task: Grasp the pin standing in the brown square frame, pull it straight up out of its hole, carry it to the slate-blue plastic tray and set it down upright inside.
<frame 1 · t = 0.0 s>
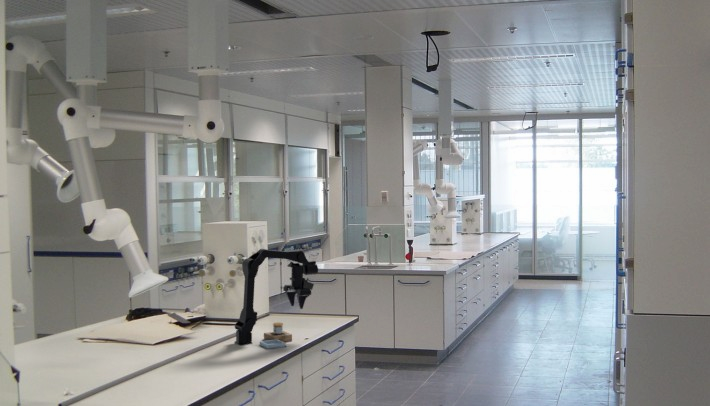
hand: (296, 307, 360), 14 cm above the counter, fingers open, 9 cm apart
pin: (277, 331, 352), in the brown square frame
tray: (272, 346, 339), on the counter
brown square frame: (277, 339, 352), on the counter
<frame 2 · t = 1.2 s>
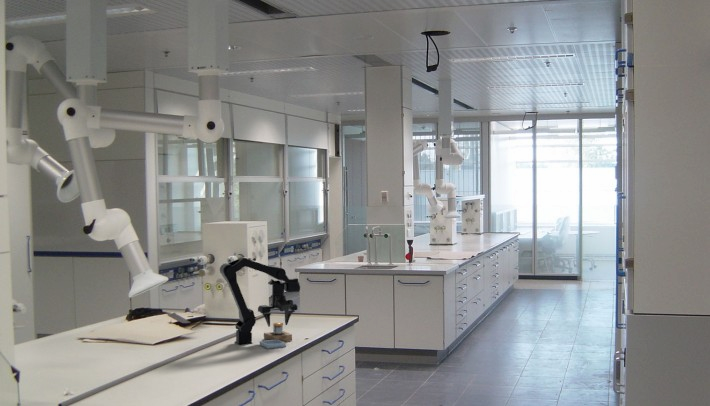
hand: (277, 325, 352), 7 cm above the counter, fingers open, 9 cm apart
nothing on the counter moved.
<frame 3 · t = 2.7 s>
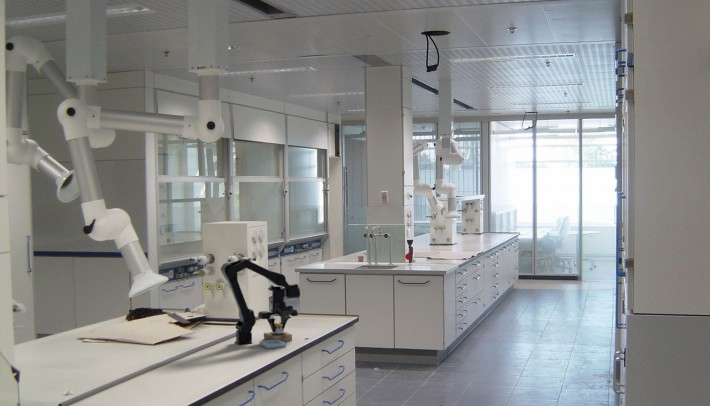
hand: (277, 331, 352), 4 cm above the counter, fingers closed on pin, 4 cm apart
pin: (277, 331, 352), in the brown square frame, touching gripper
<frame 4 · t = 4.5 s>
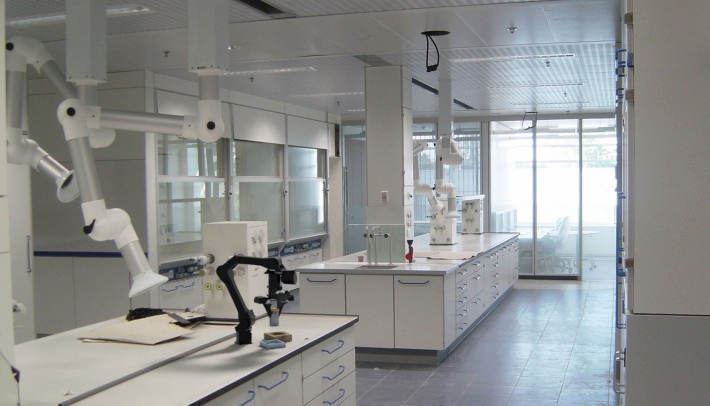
hand: (274, 317, 341), 13 cm above the counter, fingers closed on pin, 4 cm apart
pin: (274, 317, 341), point 13 cm above the counter, touching gripper
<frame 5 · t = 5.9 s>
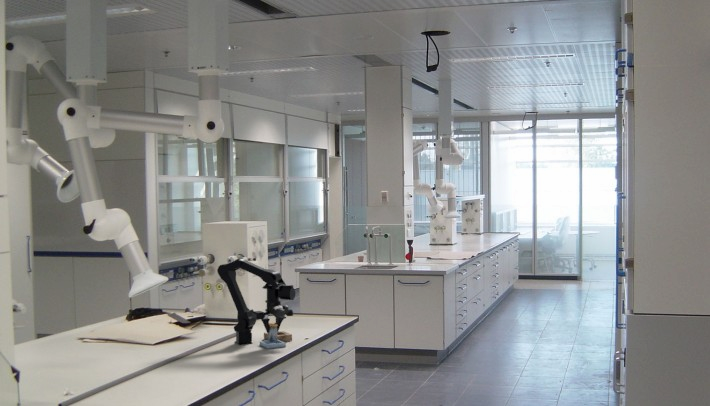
hand: (272, 332, 339), 6 cm above the counter, fingers closed on pin, 4 cm apart
pin: (272, 332, 339), point 6 cm above the counter, touching gripper
when the fingers open (6 cm above the counter, at t = 6.8 s): pin drops 1 cm, resting on tray.
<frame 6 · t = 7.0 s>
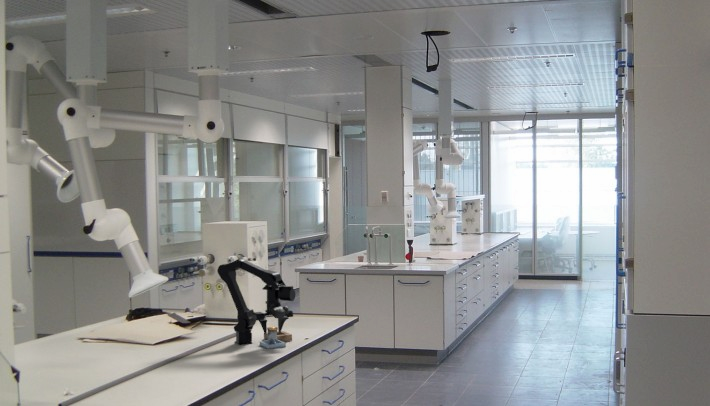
hand: (272, 333, 339), 6 cm above the counter, fingers open, 7 cm apart
pin: (272, 336, 339), in the tray
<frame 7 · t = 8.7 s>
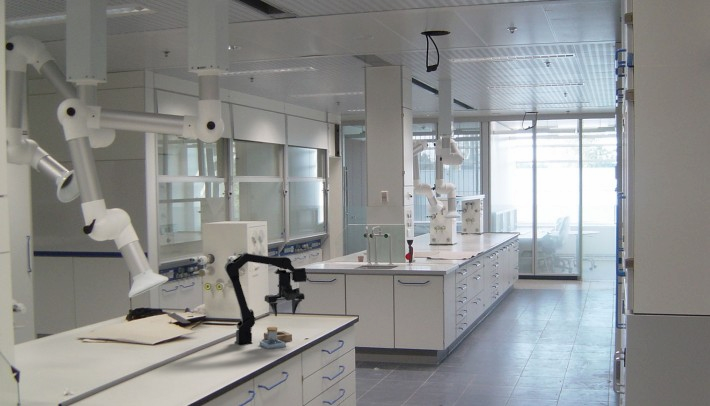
hand: (284, 315, 350), 12 cm above the counter, fingers open, 9 cm apart
nothing on the counter moved.
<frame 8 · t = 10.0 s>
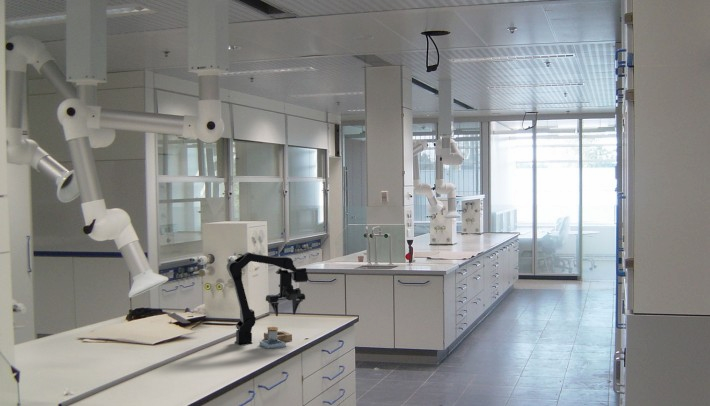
hand: (285, 315, 352), 12 cm above the counter, fingers open, 9 cm apart
nothing on the counter moved.
at the end: pin 0.1 cm off-centre on the tray, point 4.5 cm above the tray's base; pin tilted 1°; the gripper is holding nothing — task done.
